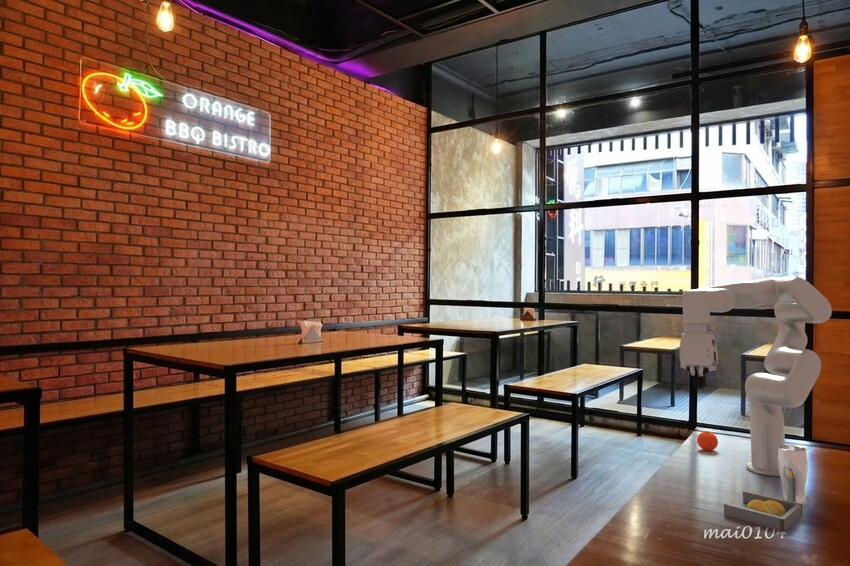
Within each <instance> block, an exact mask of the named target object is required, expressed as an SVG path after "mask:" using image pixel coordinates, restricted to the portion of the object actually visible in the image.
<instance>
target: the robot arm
mask: <svg viewBox="0 0 850 566" xmlns="http://www.w3.org/2000/svg"><path fill="white" fill-rule="evenodd" d="M770 304H774V307H773V308H774V309H773V310H774V316H775V319H776V321H777V326H778V334H777V336H776V338H775V340H774V342H773V344H772V346H771V347H770V349H769V351H768V353H767V354H766V357H765V358H764V363H763V366H764V368H765V370H766V371H767V372H756V373H752V374H751V375H749V376H748V377H747V378H746V379H745V382H744V384H745V385H744V390H745V393H746V397H747V403H748V407H749V424H750V425H749V432H750V455H751V456H750V458H751V461H749V462H747V463H746V464H745V466H746V469H747V470H748V471H750V472H753V473H755V474H759V475H764V476H770V477H771V476H772V477H780V473H779V467H778V446H779V445H786V441H785V440H786V437H785V418H784V417H785V416H784V413H783V410H782V409H781V407H786V408H798V407H800V406H801V405H803V404H804V403H805V401H806V400H807V398H808V396H809V394H810V392H811V391H812V389H813V387H814V385H815V383H816V382H817V380H818V378H819V376H820V373H821V369H822V362H821V358H820V356H819V355H818V354H817V353H816V352H815V351H813V350H811V349H806V347H807V345H808V336H807V334H806V332H805V330H804V328H803V326H802V324H801V323H803V324H805V323H807V324H823V323H825V322H827V321H828V320H829V319H830V318H831V317H832V314H833V313H832V311H833V310H832V309H833V308H832V305H831V303H830V302H829V301H828V299H827V298H826V297H825V296H824V295H823V294H822V293H821V292H820V291H819V290H818V289H817V288H816V287H815V286H813V284H811V283H810V282H809V281H808V280H806V279H804V278H802V277H800V276H776V277H775V276H774V277H773V276H772V277H766V278H765V277H764V278H761V279H755V280H754V279H753V280H748V281H747V280H746V281H740V282H733V283H728V284H720V285H713V286H706V287H700V288H696V289H686V290H684V291H683V292H682V317H683V318H682V321H683V325H682V326H683V333H681V336H680V343H679V362H680V365H679V366H680V368H681V369H685V370H687V371H688V372H689V374H690V375H691V376H692V385H693V388H694V390H696V389H697V390H701V389H704V387H705V385H706V384H705V383H706V375H707V374H708V373H709V372H713V371H717V370H718V366H717V365H718V364H719V356H718V347H717V342H716V337H715V334H714V333H711V332H712V331H715V330H716V326H715V325H712V323H711V314H710V313H725V312H729V311H731V310H732V309H743V308H745V309H746V308H755V307H760V306H764V305H765V306H766V305H770ZM768 372H769V373H768Z"/></svg>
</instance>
